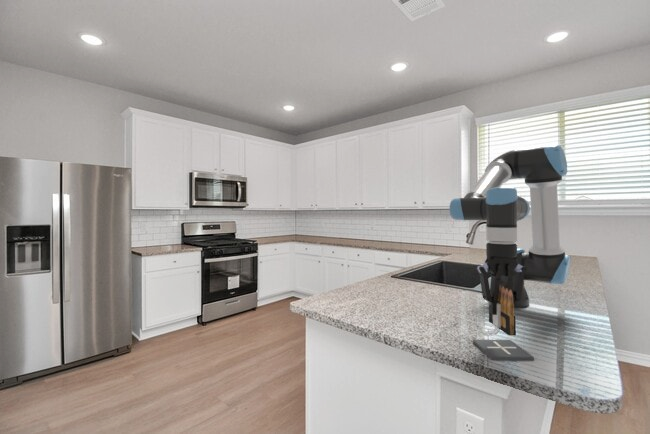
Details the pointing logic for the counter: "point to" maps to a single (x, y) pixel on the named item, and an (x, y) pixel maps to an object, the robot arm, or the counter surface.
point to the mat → (502, 350)
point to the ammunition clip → (506, 311)
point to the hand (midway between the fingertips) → (501, 325)
